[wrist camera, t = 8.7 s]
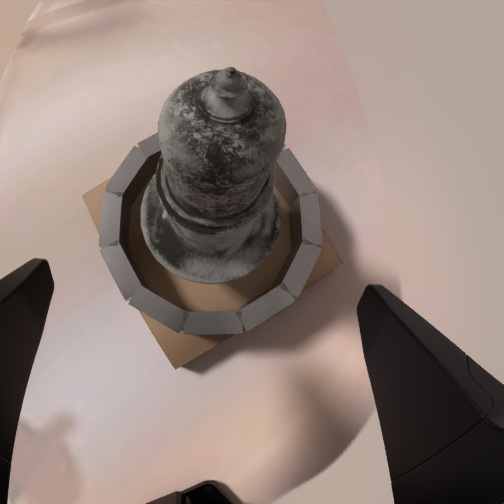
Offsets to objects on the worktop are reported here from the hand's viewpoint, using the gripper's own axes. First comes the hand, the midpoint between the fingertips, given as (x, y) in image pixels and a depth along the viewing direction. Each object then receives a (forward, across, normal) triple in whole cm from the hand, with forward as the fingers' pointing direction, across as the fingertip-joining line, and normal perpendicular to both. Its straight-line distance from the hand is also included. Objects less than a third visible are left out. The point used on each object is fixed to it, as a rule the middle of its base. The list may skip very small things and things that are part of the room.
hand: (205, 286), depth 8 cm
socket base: (+9, 0, +4) cm, 10 cm away
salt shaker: (+8, 0, +3) cm, 9 cm away
